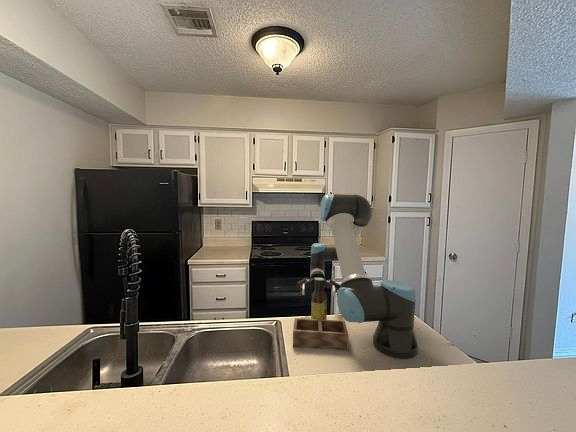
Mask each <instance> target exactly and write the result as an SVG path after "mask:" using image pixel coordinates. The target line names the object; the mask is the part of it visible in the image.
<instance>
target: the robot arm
mask: <svg viewBox="0 0 576 432" xmlns="http://www.w3.org/2000/svg"><path fill="white" fill-rule="evenodd" d="M320 202H321V203H320V207H319V218H320V221H321V222H326V226H327V228H329V229H331V234H332V237H333V241H334V246H335V247H334V246H332V247H329V246H328V247H326V245H325V244H324V243H318V242H317V243H313V244H311V249H310V268H309V269H310V270H309V271H310V272H309V273H310V278H307V277H303V278H302V279H301V280H300V281H297V282H296V289H299V291H301V293H302V294H301V295H302V296H304V295H305V289H307V288H309V287H315V282H314V279H315V278H324V288H326V289H328V290H329V289H330V290H331V291H332V296H333V297H336V303H337V307H338V311H339V312H340V315H341V317H342V318H343V319H344V321H345V322H348V323H357V324H362V323H369V322H370V323H371V322H378V323H377V326H376V328H375V330H374V333H373V335H372V345H373V346H374V347H375V349H376V350H377V351H378V352H381V353H382V354H384V355H385V356H389V357H392V358H395V359H396V358H397V359H410V358H413V357H415V356H416V355H418V349H419V345H418V344H419V343H418V341H417V338H416V333H415V330H414V325H415V312H416V311H415V309H416V302H417V300H416V290H415V289H414V288H413V287H412V286H410V285H409V284H406V283H404V282H400V281H396V280H390V279H384V280H382V281H381V282H380V286H377V285H376V286H374V284H373V280H372V278H370V277H369V276H367V274H366V271H365V267H364V263H363V259H362V257H361V253H360V249H359V246H358V242H357V239H358V238H359V236H360V235H361V232H362V231H363V229H364V228H366V227H367V226H368V225H369V223H370V222H371V220H372V217H373V209H372V205H371V203H370V201H368V199H367V198H366V197H364V196H362V195H360V194H342V193H341V194H339V193H338V194H337V193H331V194H330V193H329V194H325V195H323V197H322V199H321V201H320ZM325 262H338V265H339V268H340V274H341V277H342V278H341V279H342V281H341V283H340V284H339V283H338V282H336V281H334V280H333V279H332V278H330V279H328V280H327V279H326V276H325V265H326V264H325Z"/></svg>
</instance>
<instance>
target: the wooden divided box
mask: <svg viewBox="0 0 576 432" xmlns="http://www.w3.org/2000/svg"><path fill="white" fill-rule="evenodd" d="M348 345H349V332H348V327H347V324H346V320H337V319H336V320H335V319H334V320H333V319H327V320H321V319H311V318H301V317H295V318H294V320H293V329H292V347H293V348H299V349H300V348H301V349H304V348H306V349H315V350H316V349H318V350H331V351H332V350H333V351H344V352H345V351H346V352H348V349H349V346H348Z"/></svg>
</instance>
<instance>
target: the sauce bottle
mask: <svg viewBox="0 0 576 432" xmlns="http://www.w3.org/2000/svg"><path fill="white" fill-rule="evenodd" d="M314 282H315V286H314V291H313V292H312V293H311V305H310V306H311V309H310V310H311V312H310V313H311V314H310V319H321V320H328V318H327V314H328V313H327V312H328V311H327V309H328V308H327V307H328V306H327V305H328V302H327V300H328V296H327V293H326V291H325V287H324V278H315V279H314Z"/></svg>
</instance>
